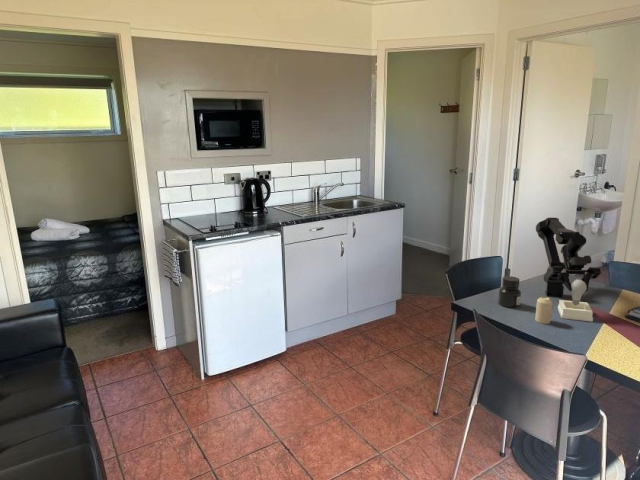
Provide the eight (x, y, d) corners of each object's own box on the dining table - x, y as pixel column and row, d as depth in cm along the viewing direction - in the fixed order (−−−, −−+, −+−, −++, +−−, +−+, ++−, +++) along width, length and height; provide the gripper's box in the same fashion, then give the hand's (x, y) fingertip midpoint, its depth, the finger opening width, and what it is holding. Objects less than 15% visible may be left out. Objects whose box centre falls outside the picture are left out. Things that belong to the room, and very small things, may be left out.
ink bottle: (523, 308, 191) (525, 282, 188) (502, 308, 191) (504, 282, 189) (514, 300, 201) (516, 275, 198) (494, 300, 201) (496, 275, 198)
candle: (549, 319, 180) (551, 296, 178) (551, 324, 175) (553, 300, 173) (534, 317, 182) (536, 294, 179) (535, 323, 177) (538, 299, 174)
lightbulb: (564, 301, 187) (568, 277, 184) (580, 302, 185) (584, 277, 183) (569, 307, 181) (573, 281, 178) (586, 308, 180) (590, 282, 177)
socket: (561, 318, 181) (562, 308, 180) (557, 308, 191) (558, 299, 190) (592, 321, 177) (593, 312, 176) (586, 311, 187) (588, 302, 186)
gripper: (554, 247, 182) (561, 282, 175) (602, 248, 180) (612, 283, 172) (545, 260, 192) (551, 293, 184) (591, 261, 189) (600, 295, 182)
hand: (578, 291), depth 180 cm, fingers closed on lightbulb, 6 cm apart
